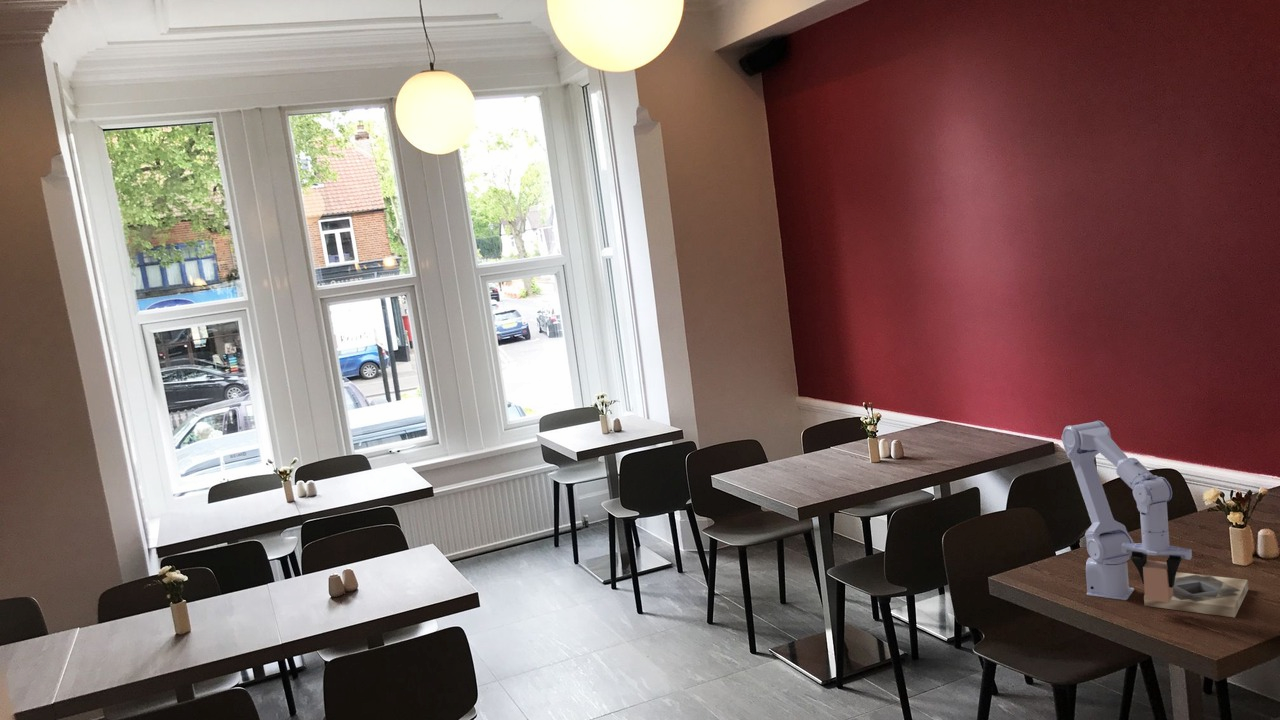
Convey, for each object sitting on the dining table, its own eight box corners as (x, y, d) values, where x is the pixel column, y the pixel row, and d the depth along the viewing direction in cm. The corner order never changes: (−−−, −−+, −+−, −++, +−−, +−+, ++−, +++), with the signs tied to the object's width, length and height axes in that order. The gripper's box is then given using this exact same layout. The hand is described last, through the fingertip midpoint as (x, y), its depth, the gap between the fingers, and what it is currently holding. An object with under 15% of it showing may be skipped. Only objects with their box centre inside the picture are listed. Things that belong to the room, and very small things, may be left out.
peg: (1145, 599, 227) (1142, 567, 226) (1150, 592, 230) (1147, 560, 230) (1168, 602, 223) (1166, 569, 223) (1173, 595, 227) (1171, 562, 226)
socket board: (1144, 605, 234) (1143, 596, 233) (1162, 579, 248) (1161, 570, 248) (1234, 617, 221) (1234, 607, 221) (1248, 589, 235) (1247, 579, 235)
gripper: (1116, 531, 227) (1120, 586, 228) (1185, 537, 217) (1189, 594, 219) (1124, 522, 232) (1128, 576, 234) (1192, 528, 223) (1195, 584, 224)
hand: (1158, 584), depth 227 cm, fingers closed on peg, 5 cm apart
